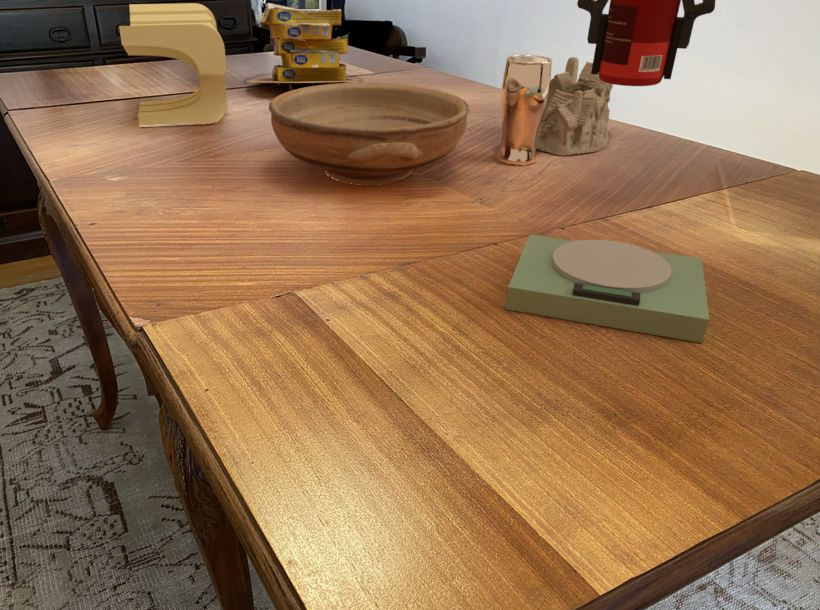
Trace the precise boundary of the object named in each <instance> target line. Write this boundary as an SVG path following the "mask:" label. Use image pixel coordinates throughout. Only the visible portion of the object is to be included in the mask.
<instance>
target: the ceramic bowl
mask: <svg viewBox="0 0 820 610" xmlns="http://www.w3.org/2000/svg"><path fill="white" fill-rule="evenodd" d="M268 110H269V112H270V121H271V127H272V130H273V132H274V135H275V137H276V138H277V140H278V142H279V143H280V145H281V146H282V147H283V148H284V150H285V151H286V152H288V153H289V154H290V155H291V156H292V157H294V158H296V159H297V160H299V161H301V162H303V163H305V164H307V165H309V166H312V167H315V168H318V169H321V170H323V171H324V170H325V172H326V174H328V175H329V176H330V177H333V178H334V179H337V180H339V181H343V182H347V183H346V184H348V183H352V184H351V185H354V184H361V185H360V186H379V185H378V184H385V185H390V184H389V183H391V184H395V183H394V182H396V183H399V182H402V181H404V180H406V179H408V178H409V177H410V176H411V174H412V172H413V171H416V170H420V169H422V168H426V167H429V166H431V165H433V164H436V163H437V162H439V161H441V160H442V159H444V158H445V157H447V156H448V155H450V153H452V151H454V150H455V148H456V147H457V146H458V144H459V143H460V142H461V140H462V138H463V136H464V134H465V131H466V129H467V125H468V124H467V123H468V115H469V113H470V105H469V104H468V102H467V101H465V100H464V99H463V98H461V97H460V96H457V95H455V94H452V93H450V92H446V91H443V90H439V89H434V88H430V87H424V86H419V85H411V84H403V83H392V82H391V83H390V82H355V81H348V82H339V83H338V82H336V83H328V84H327V83H326V84H318V85H311V86H306V87H300V88H297V89H295V90H294V89H293V90H292V91H290V90H289V91H286V92H283V93H281V94H279V95H277V96H275V97H274V98H272V100H270V102H269V104H268ZM325 172H324V173H325ZM326 174H325V175H326ZM330 177H329V178H330ZM407 177H408V178H407ZM403 179H404V180H403ZM401 180H402V181H401ZM339 181H338V182H339ZM398 181H399V182H398ZM343 182H342V183H343Z"/></svg>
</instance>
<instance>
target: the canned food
mask: <svg viewBox="0 0 820 610" xmlns="http://www.w3.org/2000/svg"><path fill="white" fill-rule="evenodd" d="M681 2H682V0H610V1H609V6H608V13H607V14H608V18H607V24H606V30H605V36H604V42H603V48H602V53H601V59H600V65H599V78H600V80H601V81H603V82H606V83H610V84H613V85H614V86H615V85H616V86H624V87H649V86H657V85H658V84H660V83H661V82H662V80H663V79H664V73H665V69H666V64H667V60H668V56H669V51H670V47H671V42H672V38H673V33H674V29H675V24H676V20H677V17H679V11H680V7H681Z"/></svg>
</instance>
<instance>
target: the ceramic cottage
mask: <svg viewBox="0 0 820 610" xmlns="http://www.w3.org/2000/svg"><path fill="white" fill-rule="evenodd" d="M579 61H580V60H579V58H578V57H575V56H571V57H569V58H568V59H567V62H566V65H565V68H564V69H565V70H564V72H561V73H556V74H555V75H553V78H551V81H550V89H549V95H548V100H547V104H546V108H545V111H544V114H543V117H542V120H541V123H540V126H539V130H538V134H537V139H536V150H537V149H539V150H538V151H540V150H541V152H542V151H543V152H546V153H548V154H552V155H554V154H560V155H559V156H561V155H562V156H565V155H566V156H572V155H576V154H577V155H581V154H580V153H582V154H587V153H588V154H589V152H590V153H595V152H599V151H600V150H603V149H605V148H606V147H607V146H608V145H609V122H610V111H611V110H610V108H609V102H610V101H611V91H612V89H613V87H614V86H613V85H614V84H610V83H606V82H603V81H601V80H600V78H599V72H598V74H591V71H592V66H593V62H590V61H586V62H585V64H584V65H583V68H582V69H581V72H580V73H579ZM578 73H579V75H578Z"/></svg>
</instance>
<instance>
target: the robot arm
mask: <svg viewBox="0 0 820 610" xmlns="http://www.w3.org/2000/svg"><path fill="white" fill-rule="evenodd" d="M608 2H610V1H609V0H577V2H576V6H577V8H579V9H582V10H583V11H586V12H588V13H589V15H590V20H589V26H588V34H587V43H588V44H590V45H595V49H594V55H593V59H592V63H593V66H592V71H591V74H598V72H599V65H600V59H601V53H602V48H603V42H604V36H605V30H606V24H607V18H608V13H604V9H605V8H606V6H607V4H608ZM681 2H682V3H681V4H682V8H683V16H677V20H676V24H675V29H674V33H673V38H672V42H671V47H670V51H669V56H668V60H667V64H666V69H665V73H664V76H663V80H671V78H672V74H673V70H674V66H675V62H676V57H677V52H678V49H683V50H686V49H687V48H688V46H689V45H690V43H691V42H690V41H691V37H692V33H693V30H694V29H693V28H694V23H695V21H696V19H697V18H699V17H701V16H704V15H709V14H711V13H713V12H714V11H715V9H716V0H702V2H699V3H696V1H695V0H681Z"/></svg>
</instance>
